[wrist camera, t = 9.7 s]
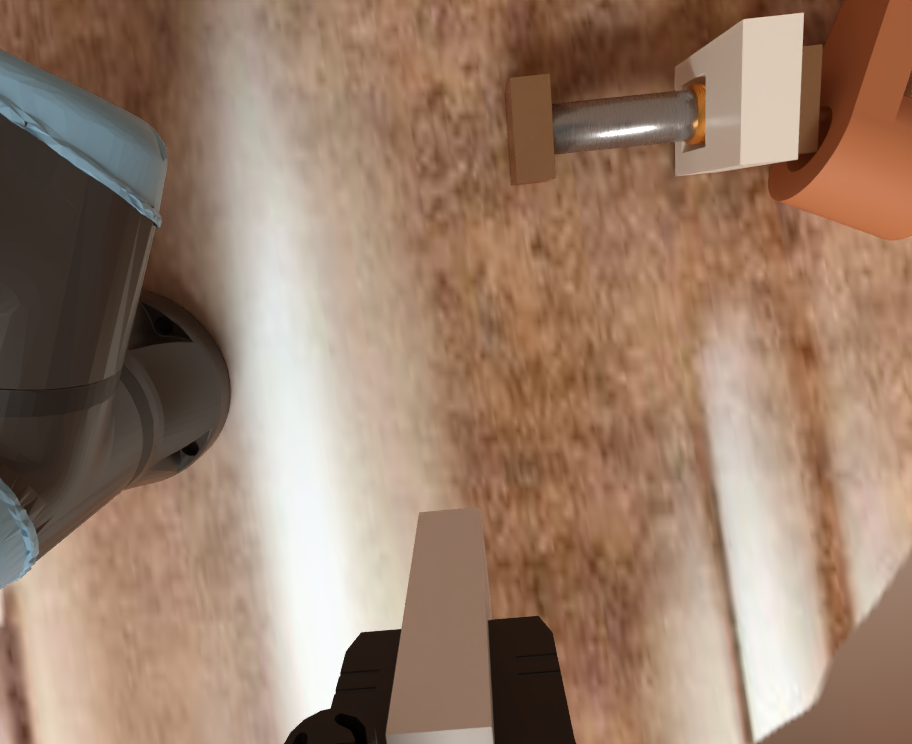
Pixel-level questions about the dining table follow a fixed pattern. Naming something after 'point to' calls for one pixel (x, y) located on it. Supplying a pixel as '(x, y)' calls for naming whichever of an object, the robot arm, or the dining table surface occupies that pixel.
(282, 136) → the dining table surface
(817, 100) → the pipe rig
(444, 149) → the dining table surface
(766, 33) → the sleeve
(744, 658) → the dining table surface
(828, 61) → the crank
